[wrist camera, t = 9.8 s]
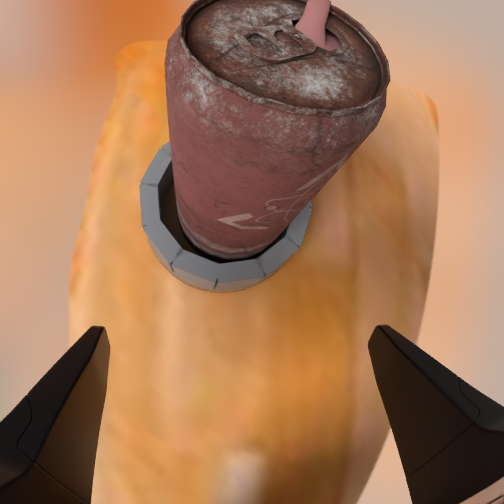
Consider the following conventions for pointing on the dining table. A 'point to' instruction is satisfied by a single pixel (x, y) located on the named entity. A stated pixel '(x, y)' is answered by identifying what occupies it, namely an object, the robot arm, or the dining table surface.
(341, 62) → the can
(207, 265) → the segmented gray ring
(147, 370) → the dining table surface
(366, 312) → the dining table surface
